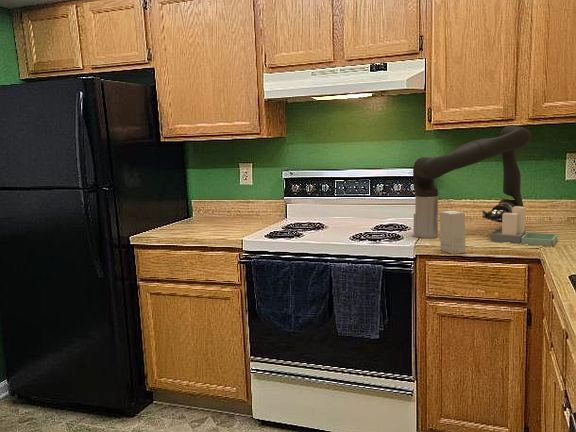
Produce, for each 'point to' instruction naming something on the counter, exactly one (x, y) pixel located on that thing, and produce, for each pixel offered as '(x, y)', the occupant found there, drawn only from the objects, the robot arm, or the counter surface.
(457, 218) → the skincare box
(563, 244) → the counter surface
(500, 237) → the board
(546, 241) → the tray
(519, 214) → the beige rectangular block
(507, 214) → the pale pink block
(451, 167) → the robot arm
